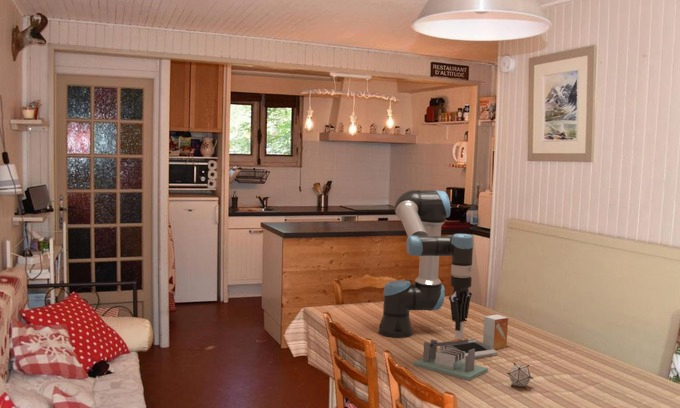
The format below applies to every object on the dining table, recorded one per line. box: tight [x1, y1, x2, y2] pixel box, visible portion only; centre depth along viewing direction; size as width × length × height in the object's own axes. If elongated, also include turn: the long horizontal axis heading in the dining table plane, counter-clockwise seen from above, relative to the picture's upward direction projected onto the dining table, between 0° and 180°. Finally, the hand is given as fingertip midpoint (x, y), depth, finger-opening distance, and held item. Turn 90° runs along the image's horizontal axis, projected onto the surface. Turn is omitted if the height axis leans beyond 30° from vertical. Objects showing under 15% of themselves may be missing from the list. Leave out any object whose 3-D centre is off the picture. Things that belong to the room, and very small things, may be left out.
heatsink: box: [435, 347, 465, 370], centre depth 251 cm, size 8×9×6 cm
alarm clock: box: [439, 338, 498, 360], centre depth 271 cm, size 17×5×16 cm
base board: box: [412, 338, 489, 381], centre depth 250 cm, size 24×14×9 cm, turn 50°
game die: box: [506, 362, 534, 390], centre depth 233 cm, size 9×8×10 cm
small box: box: [482, 314, 509, 351], centre depth 280 cm, size 8×6×13 cm
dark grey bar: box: [430, 338, 469, 347], centre depth 251 cm, size 17×3×2 cm, turn 50°
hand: (459, 338), depth 248 cm, fingers closed
